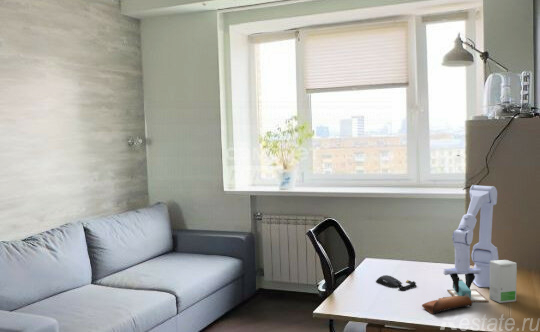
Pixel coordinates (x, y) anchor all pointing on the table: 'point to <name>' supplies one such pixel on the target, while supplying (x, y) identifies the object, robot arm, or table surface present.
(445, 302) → the sunglasses case
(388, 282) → the computer mouse
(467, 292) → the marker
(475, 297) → the clipboard
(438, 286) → the table surface
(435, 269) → the table surface
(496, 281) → the skincare box
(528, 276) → the table surface
